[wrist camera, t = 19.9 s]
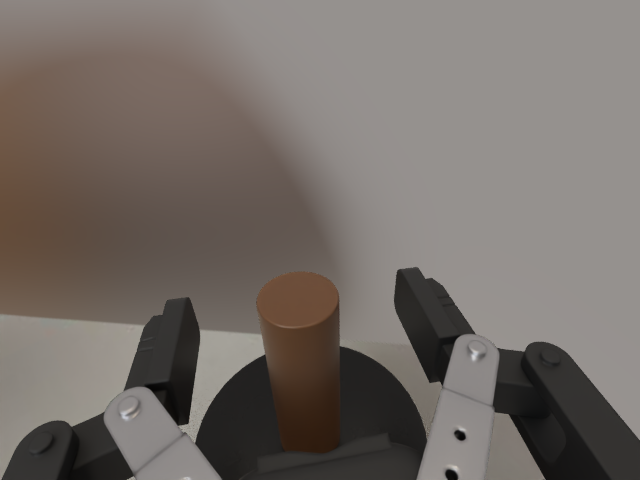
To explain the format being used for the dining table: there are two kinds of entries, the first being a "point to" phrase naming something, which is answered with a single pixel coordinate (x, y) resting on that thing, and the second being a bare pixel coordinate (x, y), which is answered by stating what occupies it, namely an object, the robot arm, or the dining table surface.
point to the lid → (303, 386)
